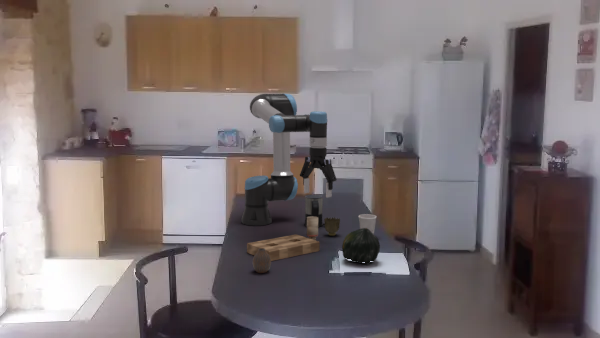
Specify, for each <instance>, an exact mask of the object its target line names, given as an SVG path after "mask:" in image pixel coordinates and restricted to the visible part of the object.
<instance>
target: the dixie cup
mask: <svg viewBox="0 0 600 338" xmlns="http://www.w3.org/2000/svg"><path fill="white" fill-rule="evenodd" d="M357 217H358V220H359V229H361V228H367V229H369V230H370V231H371V232H372V233H373V234H374V235H375V228H376V221H377V215H375V214H370V213H369V214H368V213H366V214H365V213H362V214H359V215H358V216H357Z"/></svg>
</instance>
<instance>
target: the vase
mask: <svg viewBox="0 0 600 338" xmlns="http://www.w3.org/2000/svg"><path fill="white" fill-rule="evenodd" d="M252 266H253V269H254V271H255V272H256V273H258V274H266V273H268V272H269V270H270V268H271V266H272V261H271V258H270V256H269V254H268V253H267V252H266V250H265V249H264V248H259V249H258V251H257V253H256V254H255V255H253V258H252Z"/></svg>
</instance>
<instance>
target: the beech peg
mask: <svg viewBox="0 0 600 338" xmlns="http://www.w3.org/2000/svg"><path fill="white" fill-rule="evenodd" d="M318 236H319V227H318V217H314V216H311V217H307V226H306V237H308V238H309V239H312V240H315V241H317V237H318Z"/></svg>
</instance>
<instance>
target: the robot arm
mask: <svg viewBox="0 0 600 338" xmlns="http://www.w3.org/2000/svg"><path fill="white" fill-rule="evenodd" d="M249 111H250V113H251V114H252V115H253V116H254V117H255V118H256V119H260V120H261V119H262V121H265V123H267V124H268V128H269V130H270V132H271V133H272V137H273V139H272V146H273V148H272V151H273V153H272V154H273V156H272V157H273V160H272V161H273V171H272V172H271V174H270V178H269V177H268V175H263V174H262V175H254V176H251V177H248V178H246V179H245V181H244V209H243V213H242V216H241V224H242V225H246V226H259V227H260V226H266V225H270V224H272V215H271V213H270V209H269V202H278V201H284V202H286V201H290V200H293V199H294V198H295V197H296V196H297V193H298V188H299V183H298V179H297V178H296V177H295V176H294V173H293V172H292V171H291V133H309V149H308V150H309V156H305V158H304V163H303V165H302V167H301V171H300V173H299V177H301V178H302V182H303V183H302V184H303V185H302V186H303V194H309V193H310V180H311V179H310V175H311V174H312V172H313V171H314V170H315V169H319V170H320V171H321V172H322V175H323V176H324V177H325V179H326V183H325V198H332V193H333V192H332V191H333V187H334V186H333V185H334V182H337V177H336V174H335V170H334V168H333V165H332V159H331V158H328V159H327V158H326V157H327V155H328V154H327V152H328V151H327V150H328V149H327V147H328V145H327V144H328V143H327V142H328V141H327V140H328V137H327V135H328V114H327V112H326V111H311V112H310V113H309V114H297V112H298V106H297V102H296V99H295V97H294V96H293V95H292V94H291V93H261V94H258V95H256V96H255V97H253V99H251V101H250V103H249Z"/></svg>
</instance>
